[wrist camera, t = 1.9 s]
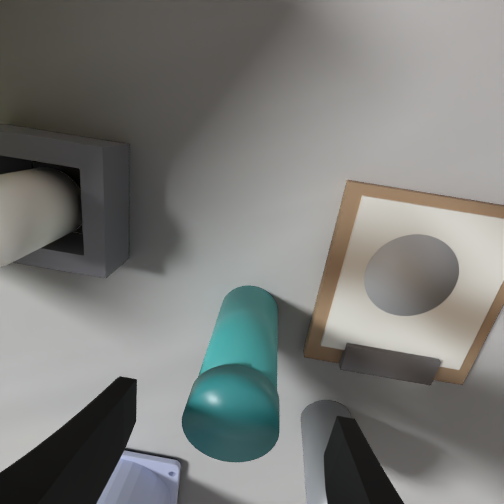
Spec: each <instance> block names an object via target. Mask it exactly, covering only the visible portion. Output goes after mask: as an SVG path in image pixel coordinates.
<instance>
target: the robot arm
mask: <svg viewBox="0 0 504 504" xmlns="http://www.w3.org/2000/svg"><path fill="white" fill-rule="evenodd" d="M136 394H137V379H132V378H126V377H121V376H120V377H118V378H117V379H116V380H115V381H114V382H113V383H111V384H110V385H109V386H108V387H107V388H106V389H105V390H104V391H103V392H102V393H101V394H99V395H98V396H97V397H96V398H95V399H94V400H93V401H92V402H90V403H89V404H88V405H87V406H86V407H85V408H84V409H82V410H81V411H80V412H79V413H78V414H77V415H75V416H74V417H73V418H72V419H71V420H69V421H68V422H67V423H66V424H65V425H64V426H62V427H61V428H60V429H59V430H57V431H56V432H55V433H53V434H52V435H51V436H50V437H48V438H47V439H46V440H44V441H43V442H42V443H41V444H39V445H38V446H37V447H35V448H34V449H33V450H31V451H30V452H29V453H27V454H26V455H25V456H23V457H22V458H20V459H19V460H18V461H16V462H15V463H13V464H12V465H11V466H9V467H8V468H6V469H5V470H3V471H2V472H0V504H177V500H178V490H179V480H180V469H181V464H180V463H179V462H178V461H177V460H173V459H168V458H163V457H157V456H152V455H146V454H141V453H135V452H130V451H125V447H126V445H127V442H128V440H129V438H130V435H131V433H132V430H133V427H134V425H135V422H136ZM324 476H325V490H326V497H327V504H404V503H403V501H402V499H401V498H400V496H399V495H398V493H397V492H396V490H395V488H394V487H393V485H392V483H391V482H390V480H389V478H388V477H387V475H386V473H385V472H384V470H383V468H382V467H381V465H380V463H379V462H378V460H377V458H376V456H375V455H374V453H373V451H372V449H371V448H370V446H369V444H368V442H367V440H366V438H365V437H364V435H363V433H362V431H361V429H360V427H359V426H358V424H357V422H356V420H355V419H353V418H348V417H342V416H337V417H336V420H335V423H334V426H333V429H332V432H331V435H330V438H329V441H328V444H327V447H326V449H325V452H324Z"/></svg>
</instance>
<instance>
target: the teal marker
mask: <svg viewBox="0 0 504 504" xmlns="http://www.w3.org/2000/svg"><path fill="white" fill-rule="evenodd" d="M277 343H278V308H277V304H276V302H275V300H274V298H273V297H272V296H271V295H270V294H269V293H268V292H267V291H265V290H263V289H261V288H259V287H255V286H242V287H238V288H236V289H234V290H232V291H231V292H229V293H228V294H227V296H226V297H225V298H224V300H223V303H222V306H221V309H220V312H219V315H218V318H217V321H216V324H215V327H214V330H213V333H212V336H211V340H210V343H209V346H208V349H207V352H206V355H205V358H204V361H203V364H202V367H201V370H200V373H199V376H198V378H197V379H196V380H195V382H194V384H193V386H192V389H191V392H190V395H189V398H188V401H187V404H186V407H185V410H184V413H183V416H182V427H183V431H184V433H185V435H186V437H187V439H188V440H189V442H190V443H191V444H192V445H193V446H194V447H195V448H196V449H198V450H199V451H201V452H202V453H204V454H206V455H207V456H210V457H212V458H215V459H218V460H222V461H227V462H246V461H251V460H254V459H257V458H260V457H262V456H263V455H265V454H266V453H268V452H269V451H270V450H271V449H272V448H273V447H274V446H275V444H276V442H277V440H278V437H279V396H278V393H277Z"/></svg>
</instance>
